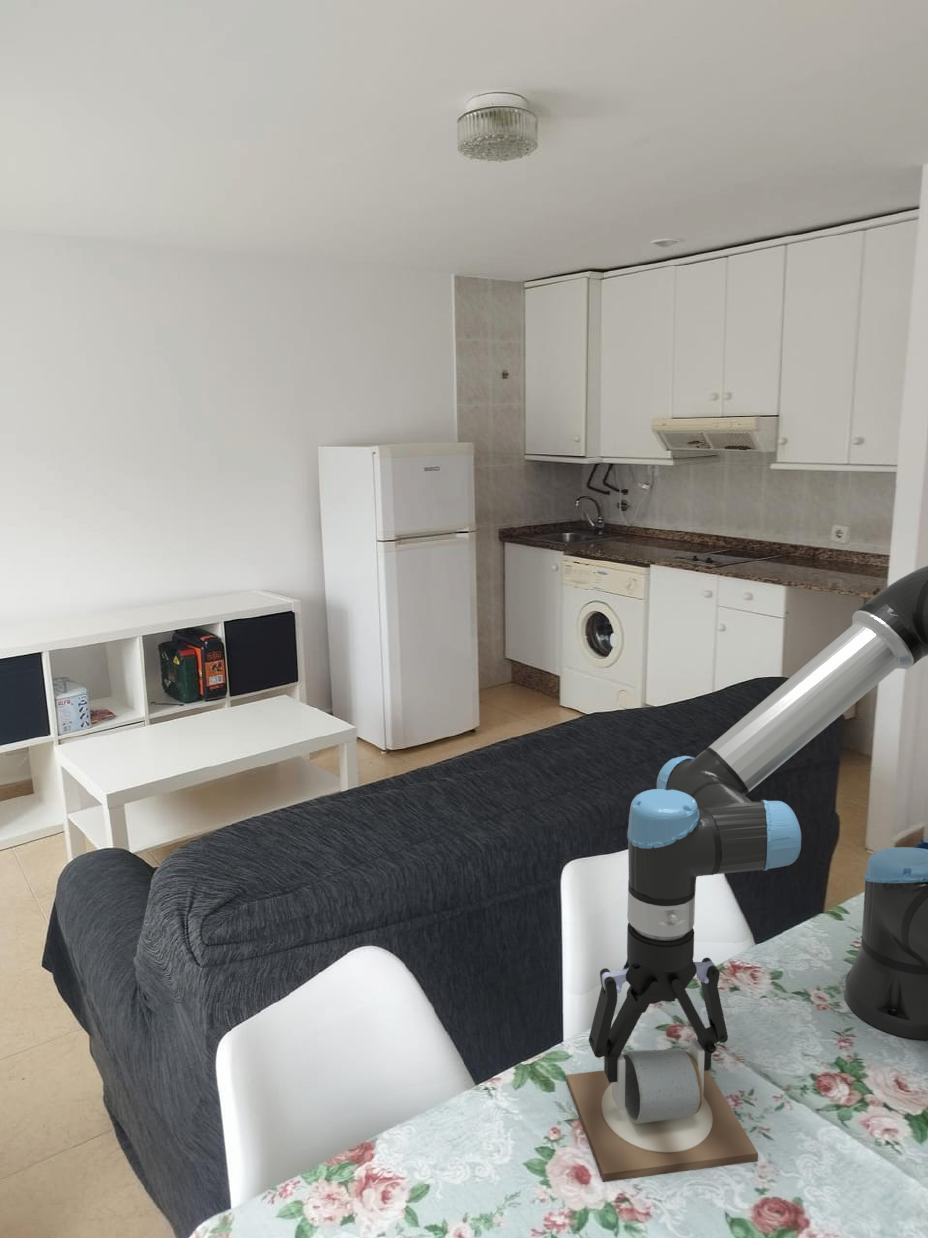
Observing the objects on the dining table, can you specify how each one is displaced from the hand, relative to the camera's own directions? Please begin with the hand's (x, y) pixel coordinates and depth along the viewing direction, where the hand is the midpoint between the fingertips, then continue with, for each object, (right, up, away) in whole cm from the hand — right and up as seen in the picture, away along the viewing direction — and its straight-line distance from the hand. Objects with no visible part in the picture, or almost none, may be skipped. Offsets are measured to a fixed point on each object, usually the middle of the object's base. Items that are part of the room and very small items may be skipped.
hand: (657, 1097), depth 107 cm
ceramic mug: (0, -2, +1) cm, 2 cm away
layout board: (0, -3, +1) cm, 3 cm away
